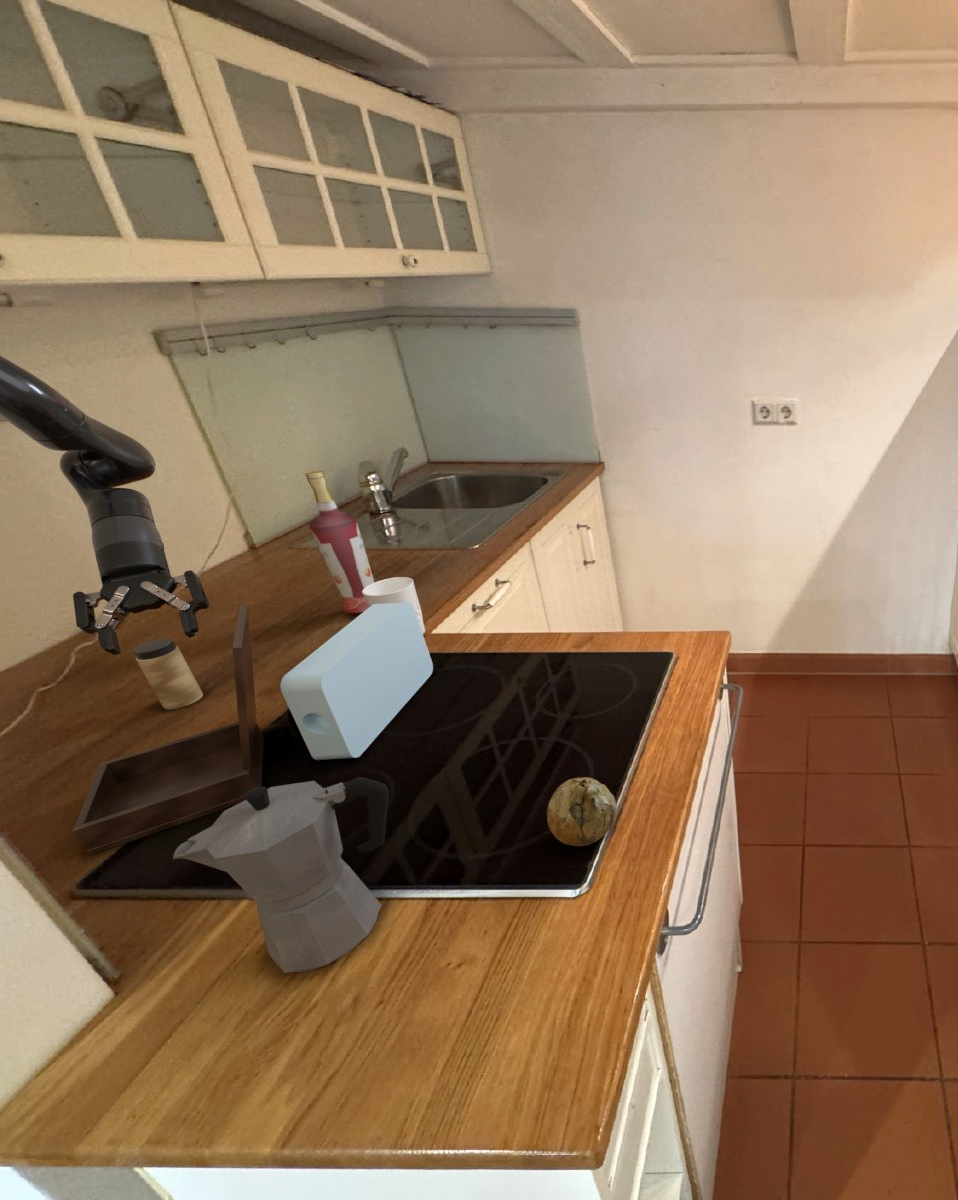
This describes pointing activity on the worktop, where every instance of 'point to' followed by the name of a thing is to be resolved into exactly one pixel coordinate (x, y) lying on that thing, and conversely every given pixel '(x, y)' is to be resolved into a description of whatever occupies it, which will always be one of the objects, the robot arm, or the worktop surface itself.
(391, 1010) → the worktop surface
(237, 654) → the chest lid
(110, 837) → the chest
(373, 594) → the white cup
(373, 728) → the pale blue rectangular block
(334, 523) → the liquor
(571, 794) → the onion
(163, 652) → the beige jar
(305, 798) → the coffeepot
